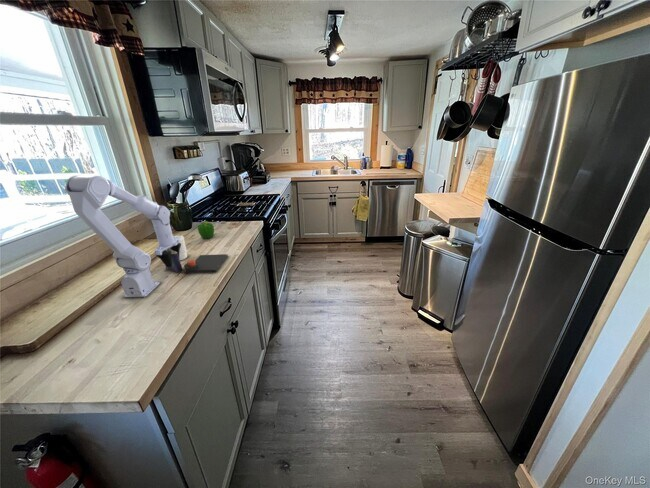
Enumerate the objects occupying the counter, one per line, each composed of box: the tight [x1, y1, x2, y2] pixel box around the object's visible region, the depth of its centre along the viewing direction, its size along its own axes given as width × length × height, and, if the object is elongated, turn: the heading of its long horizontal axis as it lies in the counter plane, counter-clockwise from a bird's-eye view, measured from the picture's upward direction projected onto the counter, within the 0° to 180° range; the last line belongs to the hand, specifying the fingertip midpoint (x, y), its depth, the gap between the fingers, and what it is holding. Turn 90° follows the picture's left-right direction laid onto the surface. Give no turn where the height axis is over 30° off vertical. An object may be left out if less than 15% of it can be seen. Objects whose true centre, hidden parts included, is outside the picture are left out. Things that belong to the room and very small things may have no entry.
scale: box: [183, 253, 229, 274], centre depth 116 cm, size 16×14×3 cm
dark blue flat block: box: [165, 247, 184, 273], centre depth 111 cm, size 9×3×11 cm, turn 65°
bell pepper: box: [197, 220, 215, 240], centre depth 146 cm, size 8×8×10 cm
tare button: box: [186, 259, 196, 266], centre depth 111 cm, size 3×3×2 cm
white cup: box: [173, 235, 188, 261], centre depth 122 cm, size 8×8×10 cm
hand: (173, 262), depth 112 cm, fingers open, 6 cm apart
